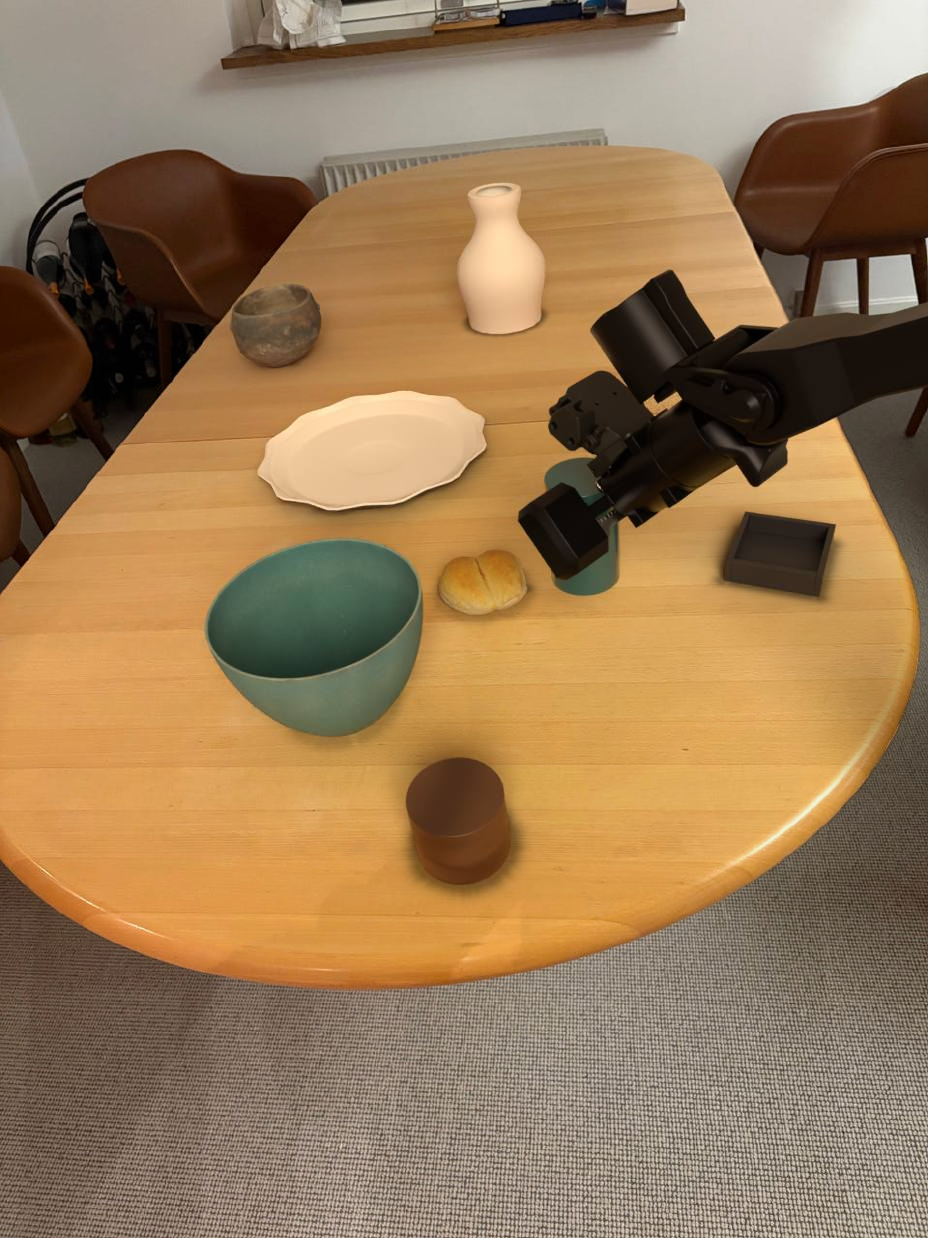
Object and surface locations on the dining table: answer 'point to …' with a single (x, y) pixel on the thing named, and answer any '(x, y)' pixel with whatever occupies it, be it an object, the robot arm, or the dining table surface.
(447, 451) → the plate
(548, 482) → the teal cylinder
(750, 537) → the dark square tray
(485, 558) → the bread roll
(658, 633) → the dining table surface
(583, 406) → the robot arm
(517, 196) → the vase
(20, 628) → the dining table surface
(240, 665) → the teal bowl
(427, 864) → the stand
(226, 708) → the dining table surface
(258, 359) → the bowl
